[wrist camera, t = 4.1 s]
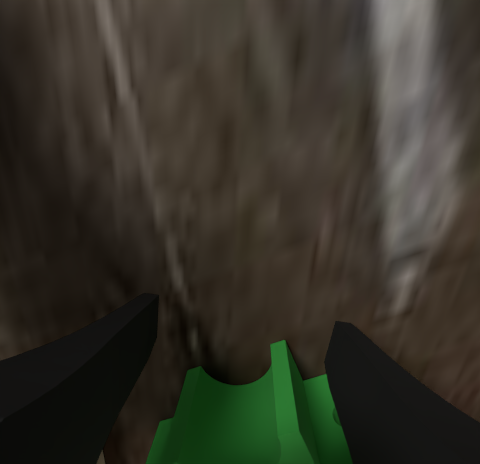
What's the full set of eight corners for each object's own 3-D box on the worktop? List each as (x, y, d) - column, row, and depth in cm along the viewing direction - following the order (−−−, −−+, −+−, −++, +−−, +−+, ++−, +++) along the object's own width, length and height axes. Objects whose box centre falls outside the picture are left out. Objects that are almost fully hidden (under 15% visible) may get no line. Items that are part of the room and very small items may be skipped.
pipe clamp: (345, 318, 13) (393, 407, 9) (367, 379, 14) (420, 486, 10) (136, 385, 15) (86, 488, 10) (168, 435, 16) (136, 549, 11)
